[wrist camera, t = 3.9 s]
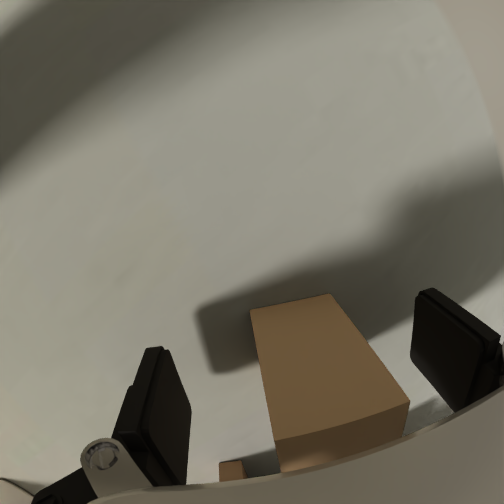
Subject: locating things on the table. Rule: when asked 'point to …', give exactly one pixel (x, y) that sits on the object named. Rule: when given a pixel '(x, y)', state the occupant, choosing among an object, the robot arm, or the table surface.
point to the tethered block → (323, 384)
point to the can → (13, 494)
